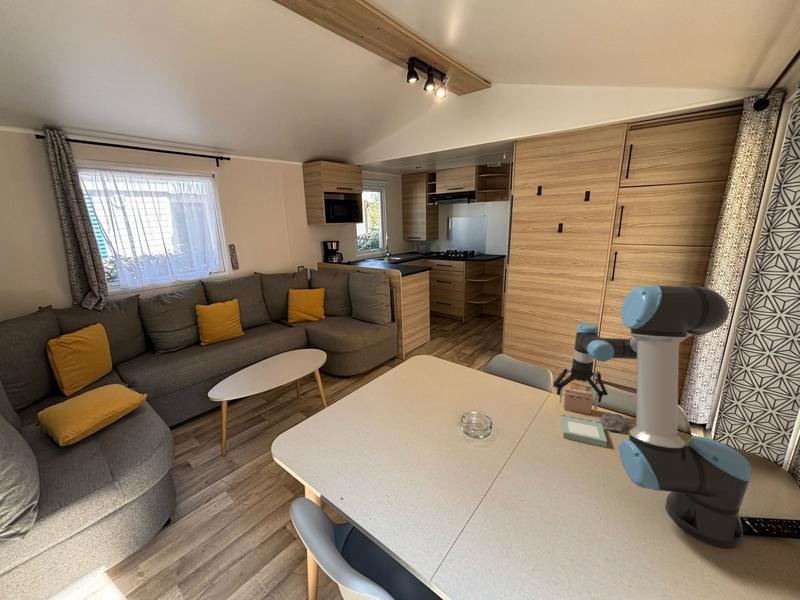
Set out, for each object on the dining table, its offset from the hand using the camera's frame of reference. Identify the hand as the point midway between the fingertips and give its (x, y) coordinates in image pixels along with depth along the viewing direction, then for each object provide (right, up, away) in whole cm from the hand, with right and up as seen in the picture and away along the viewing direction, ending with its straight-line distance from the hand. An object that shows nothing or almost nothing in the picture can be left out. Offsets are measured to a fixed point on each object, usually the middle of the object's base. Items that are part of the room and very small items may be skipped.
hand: (577, 404), depth 136 cm
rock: (+9, -5, -10) cm, 15 cm away
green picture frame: (-7, -6, -15) cm, 17 cm away
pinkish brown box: (0, -2, 0) cm, 2 cm away
